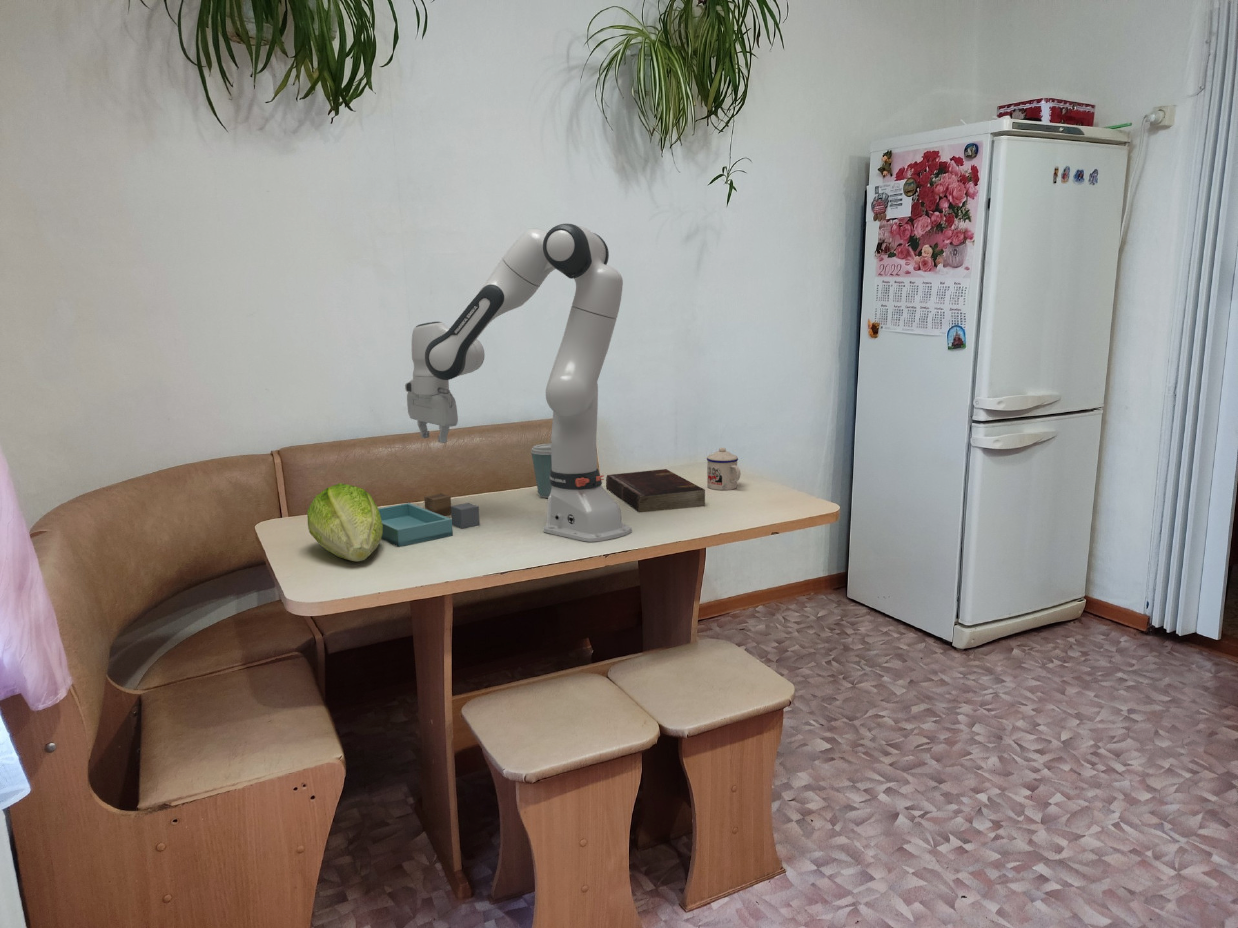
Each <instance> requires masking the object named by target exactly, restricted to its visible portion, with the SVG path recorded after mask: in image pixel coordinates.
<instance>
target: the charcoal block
mask: <svg viewBox="0 0 1238 928" xmlns="http://www.w3.org/2000/svg"><path fill="white" fill-rule="evenodd" d="M450 516H451V518H450V519H452V527H455V528H458V529H461V530H464V529H466V530H467V529H470V528H474V527H479V526H481V525H480V506H479V505H477V504H473V503H470V502H466V503H461V504H455V505H451V515H450Z"/></svg>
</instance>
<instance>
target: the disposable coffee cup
mask: <svg viewBox="0 0 1238 928" xmlns="http://www.w3.org/2000/svg"><path fill="white" fill-rule="evenodd" d="M530 453H531V458H532V464H533V470H534V476H535V481H536V488H537V493H538V495H539V497H540V498H543V499H548V497H549V495H550V492H551V489H552V485H551V484H550V470H551V469H552V461H551V442H550V443H543V444H536V445H533V446H532V448H531V450H530Z"/></svg>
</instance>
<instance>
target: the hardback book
mask: <svg viewBox="0 0 1238 928" xmlns="http://www.w3.org/2000/svg"><path fill="white" fill-rule="evenodd" d="M605 488H606V489H607V491H608V492H610V493H611V494H613V495H614V496H615V497H617V498H618V499H620V500H621V501H622V502H624V503H626V504H627V505H628V506H630V507H631V508H633V510H636V511H637V512H638V513H649V512H659V511H669V510H679V509H689V508H701V507H705V506H706V489H705V488H702V487H701V486H699V485H697V484H695V483H693V482H692V481H689V480H688V479H686V478H684V477H682V476H680V475H679V474H677V473H674V472H673V471H670V470H669V469H667V468H664V469H655V470H654V469H653V470H644V471H643V470H642V471H635V472H634V471H633V472H623V473H614V474H607V475H606V479H605Z"/></svg>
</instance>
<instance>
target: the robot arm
mask: <svg viewBox="0 0 1238 928" xmlns="http://www.w3.org/2000/svg"><path fill="white" fill-rule="evenodd" d="M609 252H610V251H609V248H608V244H607V243H606V242H605V240H604V239H603V238H602V236H600V235H598V233H595V232H593V231H591V230H590V229H588V228H586V227H583V226H581V225H576V224H572V223H561V224H558V225H557V224H556V225H555V226H553V227H552V228H551V229H549V230H548V231H545V230H543V229H541V228H529V229H527V230H526V231H525V232H524V233H523V234H522V235H520V237H519V238H518V239H517V240H516V241H515V242H514V243H513V244H512V245H511V246H510V247H509V249H508V250H507V251H506V253H505V254H504V256H503V257H502V258H501V260H500V261H499V262H498V263H497V266H496V267H495V269H493V271H492V273H491V274H490V276H489V277H488V279H487V280H486V282H485V283H484V285H482V287H481V288H480V290H479V291H478V293H477V294H476V295H475V297H474V298H473V299H472V300H471V301H470V303H469V304H468V305H467V306H466V308H465V309H464V310H463V311H462V313H461V314H460V315H459V317H458V318H457V319H456V320H455V321H454V323H453V324H452V325H451V326H450V327H448V326H447V325H446V324H445V323H444V322H442V321H431V322H430V321H429V322H425V323H420V324H418V325H416V326H415V327H414V328H413V330H412V334H411V358H412V359H411V360H412V362H413V371H412V379H411V380H409V381H408V382H406V383H405V385H404V387H405V388H404V390H405V391H406V392H407V393H406V403H407V405H406V406H407V413H408V416H409V418H410V419H411V420H415V421H417V422H416V423H417V426H418V429H419V431H420V438H422V439H429V438H430V431H429V430H428V426H427V424H432V425H435V426H438V429H439V430H440V431H439V435H438V436H437V441H438V443H440V444H446V443H448V434H449V431H450V427H456V426H457V425H458V423H459V418H458V417H459V416H458V409H457V406H458V405H457V403H456V402H457V401H456V399H455V397H454V395H453V394H452V392H451V390H450V385H449V384H450V382H449V380H450V381H451V380H453V379H455V378H457V377H460V376H464V375H467V374H471V373H474V372H475V371H477V370H480V368H481V367H482V365H483V363H484V360H485V349H484V346H483V345H482V343H481V342H480V340H478V338H479V336H480V335H481V334H482V333H483V332H484V330H485V329H486V328H487V326H489V325H490V324H491V322H492V321H494V320H495V319H497V318H499V316H501V315H503V314H505V313H507V312H510V311H513V310H515V309H519V307H522V306H523V305H524V304H526V303H527V302H528V301H529V300H530V298H532V297H533V295H535V294H536V292H537V291H538V289H539V288H540V287H541V285H542V284H543V282H544V281H545V280H546V278H547V277H548V276H549V275H550V274H551V273H552V272H553V271H555V270H557V271H558V272H560V273H561V274H563V275H565V276H566V277H567V278H568V279H571V280H574V283H575V292H574V296H573V300H572V303H571V307H570V310H569V314H568V318H567V322H566V325H565V329H564V333H563V336H562V339H561V343H560V346H559V347H558V351H557V353H556V357H555V360H554V363H553V365H552V368H551V371H550V373H549V377H548V382H547V384H546V388H545V401H546V403H547V405H548V406H549V408H550V409H551V411H552V422H551V423H552V424H551V426H552V427H551V436H550V443H551V461H552V469H551V470H550V484H551V485H552V489H551V492H550V495H549V497H548V498H547V508H546V524H545V525H544V526H543V527H542V528H543V530H542V531H543V533H547V534H551V535H556V536H560V537H564V538H569V539H573V540H577V541H583V542H602V541H607V540H612V539H616V538H620V537H624V536H626V535H628V534H630V533H632V527H631V526H630V525H628V524H625V523H623V522H622V513H621V508H620V506H619V503H618V502H617V501H616V500H614V499H613V498H612V496H611V495H610V494H609V493H608V491H606V489H605V488H604V487H603V481H604V480H605V478H604V477H605V475H604V474H602V475H601V473H600V470H599V469H598V467H597V466H598V465H597V464H598V462H597V454H598V453H597V452H598V451H597V428H598V405H599V404H598V403H599V399H598V398H599V386H598V385H599V384H598V381H599V377H600V374H601V371H602V368H603V365H604V362H605V359H606V356H607V354H608V350H609V348H610V343H611V341H612V337H613V333H614V329H615V326H616V324H617V323H616V322H617V319H618V315H619V312H620V307H621V302H622V297H623V296H622V295H623V285H624V281H623V277H622V275H621V274H620V272H619V271H618V270H617V269H616V268H614V267H612V266H610V265H607V264H608V263H609V258H610V257H609V256H610V255H609Z"/></svg>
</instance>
